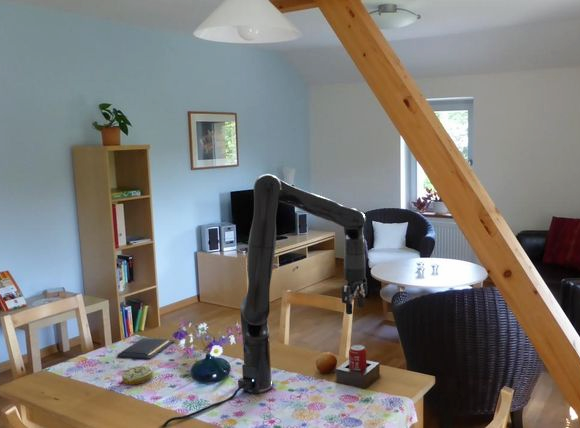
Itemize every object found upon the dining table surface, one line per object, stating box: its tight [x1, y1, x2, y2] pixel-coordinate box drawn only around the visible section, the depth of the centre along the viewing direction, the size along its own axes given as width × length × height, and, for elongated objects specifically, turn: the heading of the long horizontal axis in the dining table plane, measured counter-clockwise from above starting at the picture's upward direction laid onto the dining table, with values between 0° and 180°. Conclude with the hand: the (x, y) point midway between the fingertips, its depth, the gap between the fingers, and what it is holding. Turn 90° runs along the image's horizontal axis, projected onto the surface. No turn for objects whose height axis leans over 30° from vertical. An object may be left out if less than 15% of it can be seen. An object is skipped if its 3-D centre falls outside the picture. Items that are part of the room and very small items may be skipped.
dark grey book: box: [117, 337, 174, 360], centre depth 238 cm, size 20×2×15 cm
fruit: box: [315, 351, 338, 374], centre depth 212 cm, size 8×8×8 cm
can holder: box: [335, 359, 381, 390], centre depth 205 cm, size 12×12×5 cm
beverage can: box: [348, 344, 368, 371], centre depth 204 cm, size 6×6×12 cm
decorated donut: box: [121, 364, 154, 385], centre depth 208 cm, size 10×11×4 cm
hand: (355, 310), depth 201 cm, fingers open, 8 cm apart
